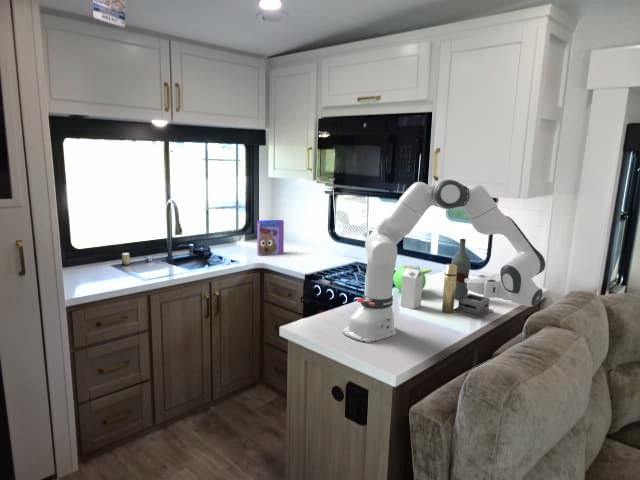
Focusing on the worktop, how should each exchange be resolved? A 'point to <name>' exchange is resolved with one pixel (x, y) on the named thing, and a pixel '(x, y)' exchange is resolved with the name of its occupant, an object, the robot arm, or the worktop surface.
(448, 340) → the worktop surface
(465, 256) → the bottle
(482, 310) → the collar stand
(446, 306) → the brass tube
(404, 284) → the milk carton
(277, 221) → the cereal box
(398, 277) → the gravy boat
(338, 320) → the worktop surface
